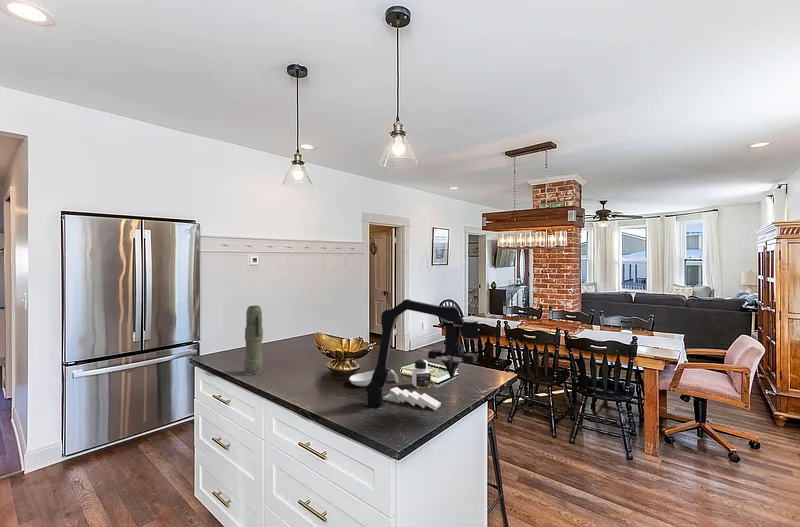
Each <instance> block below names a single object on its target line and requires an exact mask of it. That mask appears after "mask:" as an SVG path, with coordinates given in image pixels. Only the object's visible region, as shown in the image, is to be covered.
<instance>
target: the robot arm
mask: <svg viewBox="0 0 800 527" xmlns="http://www.w3.org/2000/svg"><path fill="white" fill-rule="evenodd" d="M406 311H411V312H412V311H413V312H417V313H423V314H426V315H430V316H431V315H432V316H435V317H437V318H440V319H442V320H443V321H442V323H440V325H439V326H440V327H441V328H444V341H443V345H444V352H443V351H442V349H437V348H433V349H431V350H429V351H428V352H427V358H428V359H431V360H435V359H436V358H437V357H439V358H441V361H440V363H443V365H444V367H445V368H446V370H447V373H448V375H449V378H450V379H453V378H455V374H456V372H457V368H458V366H459V365H460V364H461V363H462V362H463V363H464V364H470V365H471V364H472V365H473V364H475V363H476V362H477V361H478V356H477V354H476V353H471V352H466V353H464V352H465V345H464V344H462V343H461V342H462V341H461V340H460V335H461V337H462V338H463V339H464V340H479V336H480V335H479V321H465V320H464V318H463V317H462V315H461V312H460V310H459V308H458V307H457V306H455V305H436V304H430V303H425V302H420V301H416V300H412V299H409V298H407V299H404V300H402V301H401V302H400V303H399V304H397V305H396V306H394V307H390V308H387V309H385V310H384V311H383V312H381V315H380V318H381V319H380V322H381V323H380V325H381V328H382V329H381V331H382V332H381V338H380V339H381V340H380V343H379V351H378V356H377V363H376V366H375V368H374V373H373V376H372V379H371V382H370V383H369V384H368V385H367V386H364V387H365V392H366V393H367V402H365V403H364V404H363V405H364V406H366V407H371V408H375V409H379V408H381V407H382V406H383V405H386V401H384V400H383V387H384V386H385V385H386V384H387V383H388V381H389V380H390V379H391V377H390V376H391V375H390V374H391V373H390V372H391V370H392V369H391V368H389V367H388V366H389V365H388V361H389V356H390V349H391V344H392V338H393V331H394V329H395V327H396V324H397V322H398V320H399V316H400V315H401V314H403V313H404V312H406ZM388 368H389V369H388Z"/></svg>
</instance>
